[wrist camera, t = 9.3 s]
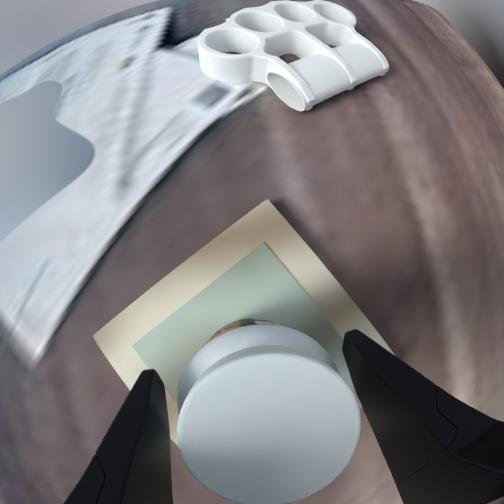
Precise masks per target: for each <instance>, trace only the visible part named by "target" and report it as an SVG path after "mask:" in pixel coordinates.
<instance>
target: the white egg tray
mask: <svg viewBox="0 0 504 504" xmlns="http://www.w3.org/2000/svg"><path fill="white" fill-rule="evenodd" d="M356 23H357V21H356V18H355V16H354V15H353V14H352V13H351V12H350V11H348V10H347V9H345V8H344V7H342V6H339V5H337V4H334V3H331V2H328V1H323V0H314V1H310V2H294V1H287V0H286V1H272V2H269V3H268V4H266V5H263V6H260V7H254V8H244V9H242V10H240V11H238V12H236V13H234V14H232V15H231V17H230V18H229V19H226V22H225V23H223V24H221V25H218V26H215V27H212V28H208V29H205V30H204V31H203V32H202V33H201V34H200V36H199V38H198V51H199V59H200V66H201V69H202V71H203V72H204V73H205V74H206V75H208V76H209V77H211V78H213V79H216V80H219V81H223V82H245V81H250V80H254V81H258V82H263V83H266V84H267V85H269V86H270V87H271V88H272V89H273V91H274V92H275V93H276V95H277V96H278V97H279V98H280V99H282V100H283V101H284V102H285V103H286V104H287V105H288V106H290V107H291V108H293V109H295V110H298V111H303V110H305V111H308V110H310V109H312V107H313V105H315V104H317V103H319V102H322V101H324V100H326V99H328V98H330V97H332V96H334V95H336V94H338V93H340V92H343V91H345V90H351V89H353V88H354V86H356V85H358V84H360V83H363V82H365V81H367V80H370V79H372V78H374V77H377V76H383V75H385V73H386V72H388V70H389V64H388V62H387V60H386V58H385V56H384V55H383V54H382V53H381V51H380V50H379V49H377V48H376V47H375V46H374V45H373V44H372V43H371V42H370V41H369V40H367V39H366V38H364V37H363V36H362V35H360V34H359V33H357V32H356V30H355V26H356ZM325 43H326V44H329V45H334V46H338V47H335V48H330V47H329V46H328V45H326V44H325ZM223 52H238V53H241V54H225V53H223ZM284 54H294V55H296V56H298V57H299V58H300V59H299V60H297V61H294V62H291V63H289V64H287V63H285V62H284V61H283V60H281V59H280V58H279V57H278V56H281V55H284Z"/></svg>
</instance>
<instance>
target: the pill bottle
mask: <svg viewBox="0 0 504 504" xmlns="http://www.w3.org/2000/svg"><path fill="white" fill-rule="evenodd" d="M177 406H178V414H179V419H178V424H177V440H178V446H179V450H180V453H181V456H182V458H183V460H184V463H185V465H186V466H187V468H188V469H189V471H190V472H191V474H192V475H193V476H194V477H195V478H196V479H197V480H198V481H199V482H200V483H201V484H202V485H203V486H205V487H206V488H207V489H209V490H210V491H212V492H213V493H215V494H217V495H219V496H221V497H223V498H225V499H227V500H230V501H233V502H236V503H241V504H288V503H291V502H295V501H299V500H301V499H304V498H306V497H308V496H311V495H313V494H315V493H316V492H318V491H319V490H321V489H322V488H324V487H326V486H327V485H328V484H330V483H331V482H332V481H333V480H334V479H336V478H337V477H338V475H339V474H340V473H341V472H342V471H343V470H344V469H345V468H346V466H347V465H348V463H349V462H350V460H351V458H352V457H353V455H354V453H355V451H356V448H357V445H358V443H359V438H360V433H361V412H360V407H359V404H358V401H357V398H356V396H355V394H354V392H353V390H352V388H351V387H350V385H349V384H348V383H347V381H346V380H345V379H344V378H343V377H342V376H341V375H340V374H339V371H338V369H337V366H336V364H335V363H334V361H333V359H332V358H331V356H330V355H329V353H328V352H327V351H326V350H325V349H324V348H323V347H322V346H321V345H320V344H319V343H318V342H316V341H315V340H314V339H312V338H311V337H309V336H308V335H306V334H304V333H302V332H300V331H298V330H295V329H292V328H289V327H286V326H283V325H280V324H277V323H275V322H272V321H268V320H264V319H258V318H247V319H241V320H237V321H234V322H232V323H229V324H227V325H225V326H224V327H222V328H221V329H219V330H218V331H217V332H216V333H215V334H214V335H213V336H212V337H211V338H210V339H209V340H208V341H207V342H206V343H205V344H204V345H203V346H202V347H201V348H200V349H199V350H198V351H197V352H196V354H195V355H194V356H193V357H192V359H191V360H190V362H189V363H188V365H187V366H186V368H185V369H184V371H183V374H182V376H181V379H180V382H179V385H178V392H177Z"/></svg>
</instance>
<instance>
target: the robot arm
mask: <svg viewBox="0 0 504 504" xmlns="http://www.w3.org/2000/svg"><path fill="white" fill-rule="evenodd" d="M342 351H343V355H344V358H345V361H346V364H347V367H348V370H349V374H350V377H351V380H352V383H353V386H354V389H355V392H356V394H357V397H358V399H359V401H360V403H361V405H362V407H363V410H364V412H365V414H366V416H367V419H368V421H369V423H370V425H371V428H372V430H373V432H374V434H375V437H376V439H377V441H378V443H379V446H380V448H381V450H382V453H383V455H384V457H385V460H386V462H387V464H388V467H389V469H390V471H391V474H392V476H393V479H394V481H395V483H396V486H397V489H398V491H399V494H400V496H401V498H402V501H403V503H404V504H504V422H503V421H499V420H496V419H493V418H491V417H489V416H487V415H485V414H484V413H482V412H480V411H478V410H476V409H474V408H472V407H470V406H469V405H467V404H465V403H463V402H462V401H460V400H458V399H456V398H455V397H453V396H452V395H450V394H449V393H447V392H446V391H444V390H443V389H442V388H440V387H439V386H436V385H435V384H434V383H433V382H432V381H430V380H429V379H427V378H426V377H424V376H423V375H422V374H420V373H419V372H417V371H416V370H415V369H413V368H412V367H410V366H409V365H408V364H406V363H405V362H403V361H402V360H400V359H399V358H398V357H396V356H395V355H393V354H392V353H391V352H389V351H388V350H386V349H385V348H384V347H382V346H381V345H379V344H378V343H377V342H375V341H374V340H372V339H371V338H370V337H368V336H367V335H365V334H364V333H363V332H361V331H360V330H358V329H353V330H350V331H347V332H345V334H344V340H343V345H342ZM64 504H173V497H172V481H171V457H170V426H169V418H168V410H167V401H166V392H165V385H164V383H163V381H162V379H161V378H160V376H159V374H158V373H157V371H156V370H155V369H145V370H143V371H142V372H141V373H140V375H139V377H138V379H137V380H136V382H135V384H134V385H133V387H132V389H131V391H130V392H129V394H128V396H127V397H126V399H125V401H124V403H123V404H122V406H121V408H120V410H119V412H118V413H117V415H116V417H115V419H114V420H113V422H112V424H111V426H110V427H109V429H108V431H107V433H106V435H105V436H104V438H103V440H102V442H101V444H100V446H99V447H98V449H97V451H96V455H94V456H93V458H92V460H91V462H90V464H89V466H88V467H87V469H86V471H85V473H84V474H83V476H82V477H81V479H80V480H79V482H78V483H77V485H76V486H75V488H74V489H73V491H72V492H71V494H70V495H69V496H68V498H67V499H66V501H65V502H64Z"/></svg>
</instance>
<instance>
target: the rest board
mask: <svg viewBox="0 0 504 504" xmlns="http://www.w3.org/2000/svg"><path fill="white" fill-rule="evenodd" d="M247 318H258V319H264V320H268V321H272V322H275V323H277V324H280V325H283V326H286V327H289V328H292V329H295V330H298V331H300V332H302V333H304V334H306V335H308V336H309V337H311V338H312V339H314V340H315V341H316V342H318V343H319V344H320V345H321V346H322V347H323V348H324V349H325V350H326V351H327V352H328V353H329V355H330V356H331V358H332V359H333V361H334V363H335V364H336V366H337V369H338V371H339V374H340V375H341V376H342V377H343V378H344V379H345V380H346V381H347V383H348V384H349V385H350V387H351V388H352V390H353V392H354V394H355V396H356V398H357V401H358V404H359V407H360V409H361V408H362V405H361V403H360V401H359V399H358V397H357V394H356V392H355V389H354V386H353V383H352V380H351V377H350V374H349V370H348V367H347V364H346V361H345V358H344V355H343V351H342V345H343V340H344V334H345V332H347V331H350V330H353V329H358V330H360V331H361V332H363V333H364V334H365V335H367V336H368V337H370V338H371V339H372V340H374V341H375V342H377V343H378V344H379V345H381V346H382V347H384V348H385V349H386V350H388V351H389V352H391V353H392V354H393V355H395V354H394V353H393V352H392V350H391V349H390V348H389V346H388V345H387V344H386V342H385V341H384V340H383V338H382V337H381V336H380V335H379V333H378V332H377V331H376V329H375V328H374V327H373V325H372V324H371V323H370V322H369V320H368V319H367V318H366V316H365V315H364V314H363V313H362V311H361V310H360V309H359V308H358V306H357V305H356V304H355V302H354V301H353V300H352V299H351V297H350V296H349V295H348V294H347V292H346V291H345V290H344V289H343V287H342V286H341V285H340V284H339V283H338V281H337V280H336V279H335V278H334V276H333V275H332V274H331V273H330V272H329V270H328V269H327V268H326V267H325V265H324V264H323V263H322V262H321V261H320V259H319V258H318V257H317V256H316V255H315V253H314V252H313V251H312V250H311V249H310V248H309V246H308V245H307V244H306V243H305V242H304V240H303V239H302V238H301V237H300V236H299V235H298V233H297V232H296V231H295V230H294V229H293V228H292V226H291V225H290V224H289V223H288V222H287V221H286V219H285V218H284V217H283V216H282V215H281V214H280V213H279V211H278V210H277V209H276V208H275V207H274V206H273V205H272V204H271V202H270V201H269V200H268V199H267V200H265V201H264V202H263V203H261V204H260V205H258V206H257V207H256V208H254V209H253V210H252V211H250V212H249V213H248V214H246V215H245V216H244V217H242V218H241V219H240V220H238V221H237V222H236V223H234V224H233V225H232V226H230V227H229V228H228V229H226V230H225V231H224V232H222V233H221V234H220V235H218V236H217V237H216V238H214V239H213V240H212V241H210V242H209V243H208V244H207V245H205V246H204V247H203V248H201V249H200V250H199V251H197V252H196V253H195V254H194V255H192V256H191V257H190V258H188V259H187V260H186V261H185V262H183V263H182V264H181V265H179V266H178V267H177V268H176V269H174V270H173V271H172V272H171V273H169V274H168V275H167V276H165V277H164V278H163V279H162V280H160V281H159V282H158V283H157V284H155V285H154V286H153V287H152V288H150V289H149V290H148V291H147V292H145V293H144V294H143V295H142V296H140V297H139V298H138V299H137V300H136V301H134V302H133V303H132V304H131V305H129V306H128V307H127V308H126V309H125V310H123V311H122V312H121V313H120V314H118V315H117V316H116V317H115V318H114V319H112V320H111V321H110V322H109V323H108V324H106V325H105V326H104V327H103V328H102V329H100V330H99V331H98V332H97V333H96V334H94V335H93V338H94V339H95V341H96V342H97V344H98V345H99V347H100V349H101V350H102V352H103V353H104V355H105V356H106V358H107V359H108V360H109V362H110V363H111V365H112V366H113V368H114V369H115V370H116V372H117V373H118V375H119V376H120V377H121V379H122V380H123V381H124V383H125V384H126V386H127V387H128V388H129V389H130V391H131V389H132V387H133V385H134V384H135V382H136V380H137V379H138V377H139V375H140V373H141V372H142V371H143V370H145V369H155V370H156V371H157V373H158V374H159V376H160V378H161V379H162V381H163V383H164V385H165V392H166V401H167V410H168V418H169V426H170V438H171V439H172V440H173V441H174V442H175V443H176V444H177V445H178V440H177V424H178V419H179V414H178V406H177V392H178V385H179V382H180V379H181V376H182V374H183V371H184V369H185V368H186V366H187V365H188V363H189V362H190V360H191V359H192V357H193V356H194V355H195V354H196V352H197V351H198V350H199V349H200V348H201V347H202V346H203V345H204V344H205V343H206V342H207V341H208V340H209V339H210V338H211V337H212V336H213V335H214V334H215V333H216V332H217V331H218V330H219V329H221V328H222V327H224V326H225V325H227V324H229V323H232V322H234V321H237V320H241V319H247ZM178 447H179V446H178Z"/></svg>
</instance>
